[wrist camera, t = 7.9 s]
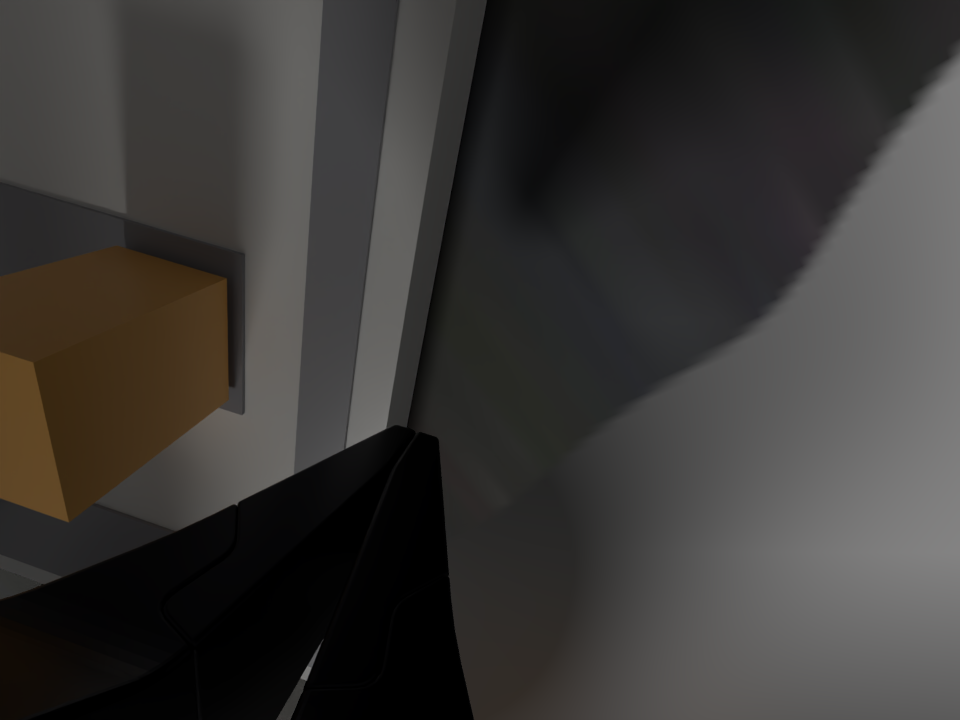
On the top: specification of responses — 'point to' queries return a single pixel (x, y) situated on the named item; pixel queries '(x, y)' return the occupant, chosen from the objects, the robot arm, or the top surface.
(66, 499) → the orange block
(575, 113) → the top surface
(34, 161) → the panel
